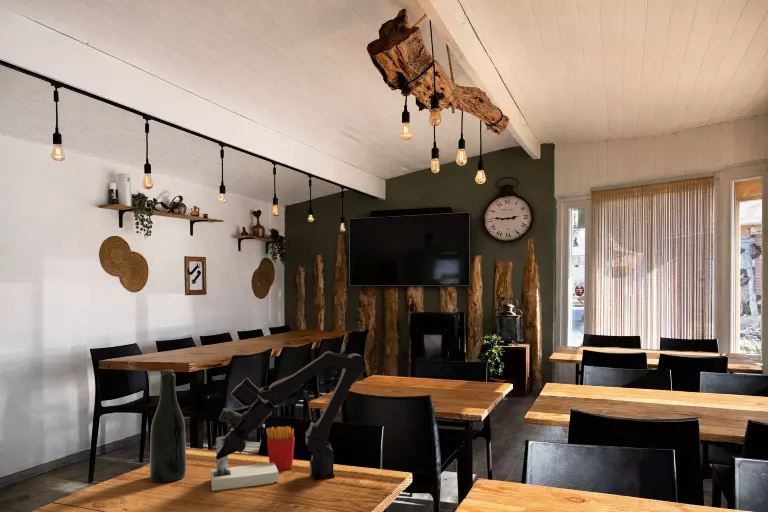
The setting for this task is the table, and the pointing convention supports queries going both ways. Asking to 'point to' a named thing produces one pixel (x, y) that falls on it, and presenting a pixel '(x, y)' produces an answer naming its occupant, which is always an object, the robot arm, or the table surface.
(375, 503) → the table surface
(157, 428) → the beer bottle
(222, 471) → the peg
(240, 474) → the socket board
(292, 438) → the french fries
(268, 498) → the table surface
